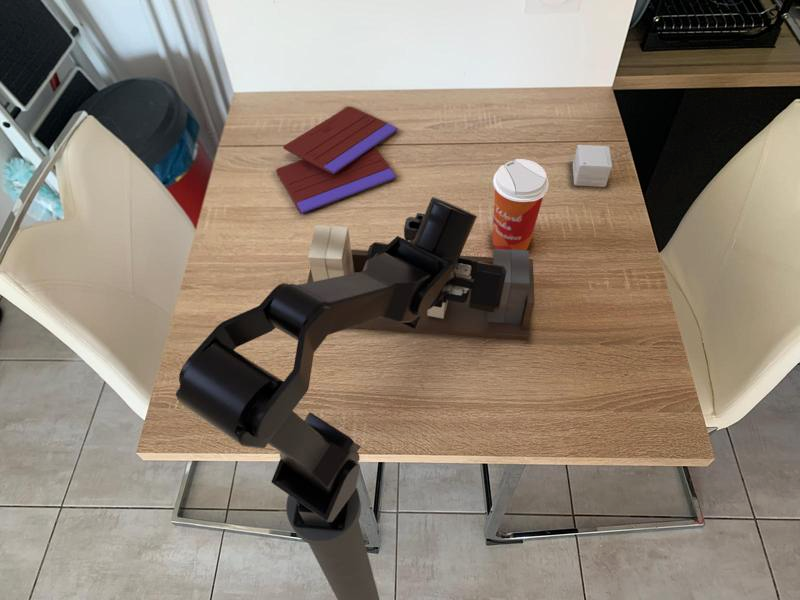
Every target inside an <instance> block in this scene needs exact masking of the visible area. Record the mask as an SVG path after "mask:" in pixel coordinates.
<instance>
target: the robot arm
mask: <svg viewBox="0 0 800 600" xmlns="http://www.w3.org/2000/svg"><path fill="white" fill-rule="evenodd" d="M477 218H478V215H476V214H475V213H472V212H470V211H469V210H466V209H464V208H462V207H460V206H458V205H455V204H453V203H450V202H448V201H446V200H443V199H440V198H437V197H434V196H432V197H431V199H430V201H429V203H428V206H427V207H426V209H425V213H422V212H418V213H416V216H408V217H407V218H405V222H404V225H403V226H404V227H403V237H404V238H403V237H401V236H399V235H397V236H395V237H394V238H393V239H392V240H391V241H390V242H389V243H385V242H379V241H375V242H373V243H371V244H370V245H369V246H368V250H367V251H368V254H367V260H366V264H365V266H364V269H363V271H362V272H359V273H356V272H354V274H349V275H344V276H339V277H334V278H329V279H324V280H320V281H315V282H310V283H307V282H305V283H301V284H295V283H290V284H289V283H286V282H282V283H280V284H278V285H277V286H276V287H274V288H273V289H272V291H271V292H269V294H268V295H266V297H265V298H264V299H263V300H262V302H261V303H260V304H259V305H258V306H254V307H253V308H251V309H248V310H245V311H244V312H242V313H239V314H237V315H235V316H232V317H230V318H228V319H226V320H224V321H221V322H220V323H219V324H218V325H216V327H215V328H214V329H213V330H212V331H211V333H210V334H209V335H208V336H207V337H206V338H205V340H204V341H203V342H201V344H200V345H199V346H198V347H197V348H196V349H195V350H194V351H193V353H192V354H191V355H190V356H189V357H188V358H187V359H186V361H185V362H184V364H183V365H182V367H181V369H180V371H179V376H178V382H179V388H178V389H176V391H175V396H176V399H177V401H178V402H179V403H180V404H181V405H182V406H184V407H185V408H186V409H188V410H189V411H191V412H192V413H194V414H195V415H196V416H198V417H199V418H201V419H202V420H204V421H205V422H206V423H208V424H210V425H211V426H213V427H214V428H215V429H217V430H218V431H220V432H222V433H223V434H224V435H226V436H227V437H229V438H231V439H232V440H233V441H234V442H236V443H238V445H240V446H242V447H245V448H252V449H259V450H262V449H265V448H267V446H268V445H269V446H271V447H273V448H274V449H276V450H277V451H278V452H279V458H280V459H279V461H278V464H277V466H276V469H275V471H274V474H273V476H272V479H271V484H273V485H274V486H275V487H277V488H278V489H280V490H281V491H283V492H284V493H285V494H286V495H287V496H288V495H290V496H291V497H293V498H294V499H295V500H296V502H297V504H296V509H295V514H294V520H293V524H294V526H295V527H299V528H310V529H321V530H332V531H343V530H344V529H345V523H346V516H347V510H348V503H349V498H350V496H351V495H352V494H353V492H354V491H355V489H356V488H357V483H358V478H359V473H360V470H361V465H360V464H359V463H358V462H360V453H359V452H358V451H359V450H360V449H361V447H362V446H361V445H359V444H358V443H357V442H355V441H354V440H353V439H352V437H350V436H348V435H347V434H346V433H344V432H342V431H341V430H339V429H338V428H336V427H335V426H333V425H331V424H329V423H328V422H326V421H325V420H323V419H322V418H320V417H319V416H317V415H316V414H314V413H312V412H310V411H309V413H308V414H307V415H306V417H305V419H303V418H302V417H301V416H299V415H298V414H297V413H296V412H295V411H294V409H295V408H296V407H297V406H298V404H299V403H300V401H301V400H302V399H303V397H305V395H306V394H307V393H308V391H309V388H310V384H311V383H310V382H311V376H312V368H313V362H314V356H315V355H314V354H315V352H316V351H317V349H319V347H320V346H321V345H322V343H323V342H324V340H325V339H327V338H328V336H330V335H332V334H335V333H338V332H342V331H344V330H347V329H351V328H350V327H353V326H356V325H359V324H362V323H364V322H367V321H370V320H373V319H376V318H385V319H388V320H392V321H395V322H400V323H402V324H404V325H406V326H408V327H410V328H413V329H416V328H417V326H418V324H419V321H420V319H421V317H422V316H423V315H424V314H425V313H426V312H427V310H429V309H431V308H432V307H433V306H435V307H440V308H441V307H442V304H443V303H446V302H447V300H450V301H455V302H460V303H464V302H466V301H467V298H468V293H469V289H472V291H471V297H470V302H469V308H472V309H477V310H482V311H487V312H492V313H494V312H496V311H497V310H498V309H499V307H500V302H501V297H502V292H503V287H504V282H505V277H506V272H507V270H506V269H505V267H504V266H501V265H496V264H491V263H486V262H478V263H477V267H476V271H475V276H474V279H472V272H473V266H474V264H473V262H472V261H471V260H468V259H463V258H459V257H460V256H461V254H462V252H463V250H464V247H465V246H466V243H467V240H468V238H469V236H470V233H471V231H472V229H473V228H474V224H475V222H476V220H477ZM275 329H278V330H279V331H281V332H283V333H284V334H286V335H288V336H289V337H291V338H292V339H294V340H296V341H297V344H296V350H295V357H294V364H293V369H292V370H291V371H290V373H289V374H288V375H287V376H286V378H285V379H284V380H282V379H281V378H279V377H278V376H276V375H275V374H273V373H271V372H270V371H268V370H266V369H265V368H263V367H262V366H260V365H258V364H257V363H255V362H254V361H252V360H250V359H249V358H248V357H245V356H244V355H243V354H241V353H239V352H238V351H236V350H235V349H237V348H238V347H241V346H242V345H244V344H247V343H249V342H251V341H253V340H255V339H258V338H260V337H262V336H265V335H267V334H269V333H270V332H272V331H274V330H275ZM297 521H299V524H296V522H297ZM340 525H342V526H343V527H342V528H339V526H340Z"/></svg>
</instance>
